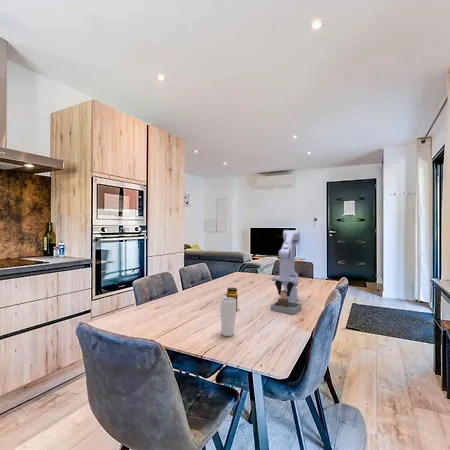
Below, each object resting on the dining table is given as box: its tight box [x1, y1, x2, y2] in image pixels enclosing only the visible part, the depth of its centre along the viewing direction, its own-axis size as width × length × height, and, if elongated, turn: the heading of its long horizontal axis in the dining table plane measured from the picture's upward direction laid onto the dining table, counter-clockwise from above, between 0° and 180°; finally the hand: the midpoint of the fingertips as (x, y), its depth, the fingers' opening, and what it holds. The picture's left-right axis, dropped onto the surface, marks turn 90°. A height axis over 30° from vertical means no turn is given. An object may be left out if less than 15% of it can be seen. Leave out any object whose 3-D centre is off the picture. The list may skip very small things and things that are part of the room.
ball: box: [279, 289, 287, 298], centre depth 156 cm, size 4×4×4 cm
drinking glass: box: [219, 297, 237, 337], centre depth 121 cm, size 7×7×15 cm
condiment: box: [225, 287, 241, 312], centre depth 155 cm, size 7×8×12 cm
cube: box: [277, 297, 288, 308], centre depth 162 cm, size 4×4×4 cm
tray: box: [270, 300, 303, 316], centre depth 158 cm, size 13×13×3 cm
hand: (284, 295), depth 156 cm, fingers closed on ball, 4 cm apart
